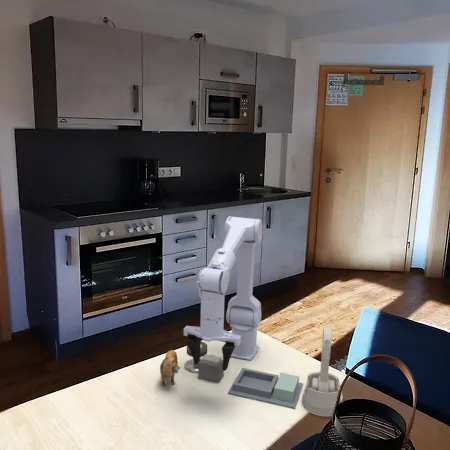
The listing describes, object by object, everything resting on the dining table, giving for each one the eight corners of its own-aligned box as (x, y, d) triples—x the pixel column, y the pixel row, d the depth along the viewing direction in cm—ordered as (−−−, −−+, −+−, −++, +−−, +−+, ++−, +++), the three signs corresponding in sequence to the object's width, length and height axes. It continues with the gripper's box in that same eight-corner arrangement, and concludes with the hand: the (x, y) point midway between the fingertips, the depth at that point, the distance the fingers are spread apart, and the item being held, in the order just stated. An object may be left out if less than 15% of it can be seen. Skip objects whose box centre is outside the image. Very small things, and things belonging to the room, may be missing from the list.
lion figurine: (180, 392, 124) (180, 361, 122) (160, 393, 123) (160, 362, 121) (178, 364, 138) (178, 336, 136) (160, 365, 138) (160, 336, 136)
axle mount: (190, 358, 142) (190, 351, 141) (212, 362, 139) (212, 356, 139) (180, 369, 135) (180, 362, 135) (203, 374, 133) (203, 367, 132)
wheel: (191, 345, 140) (191, 339, 140) (210, 349, 138) (210, 343, 138) (183, 355, 134) (183, 348, 134) (202, 359, 133) (202, 352, 132)
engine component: (301, 413, 117) (342, 419, 115) (306, 337, 112) (349, 342, 110) (302, 389, 127) (340, 394, 125) (308, 319, 123) (347, 323, 121)
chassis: (241, 371, 135) (241, 361, 134) (303, 384, 129) (304, 373, 129) (227, 393, 124) (227, 382, 123) (294, 409, 118) (295, 397, 117)
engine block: (203, 371, 135) (204, 352, 133) (223, 376, 133) (224, 356, 131) (198, 379, 131) (198, 359, 129) (218, 383, 129) (219, 363, 127)
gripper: (178, 316, 114) (178, 367, 117) (235, 327, 109) (233, 379, 112) (190, 306, 120) (189, 354, 123) (244, 315, 116) (242, 365, 119)
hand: (211, 365), depth 118 cm, fingers open, 7 cm apart
